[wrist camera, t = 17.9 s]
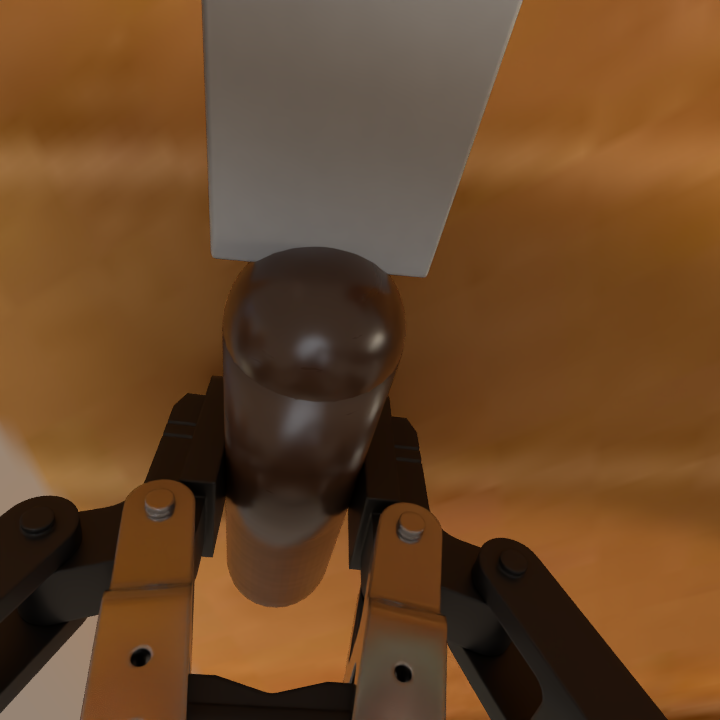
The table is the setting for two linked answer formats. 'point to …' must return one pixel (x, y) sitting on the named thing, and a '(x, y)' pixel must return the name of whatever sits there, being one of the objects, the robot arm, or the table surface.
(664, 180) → the table surface
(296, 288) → the brown-handled spatula
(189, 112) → the table surface
